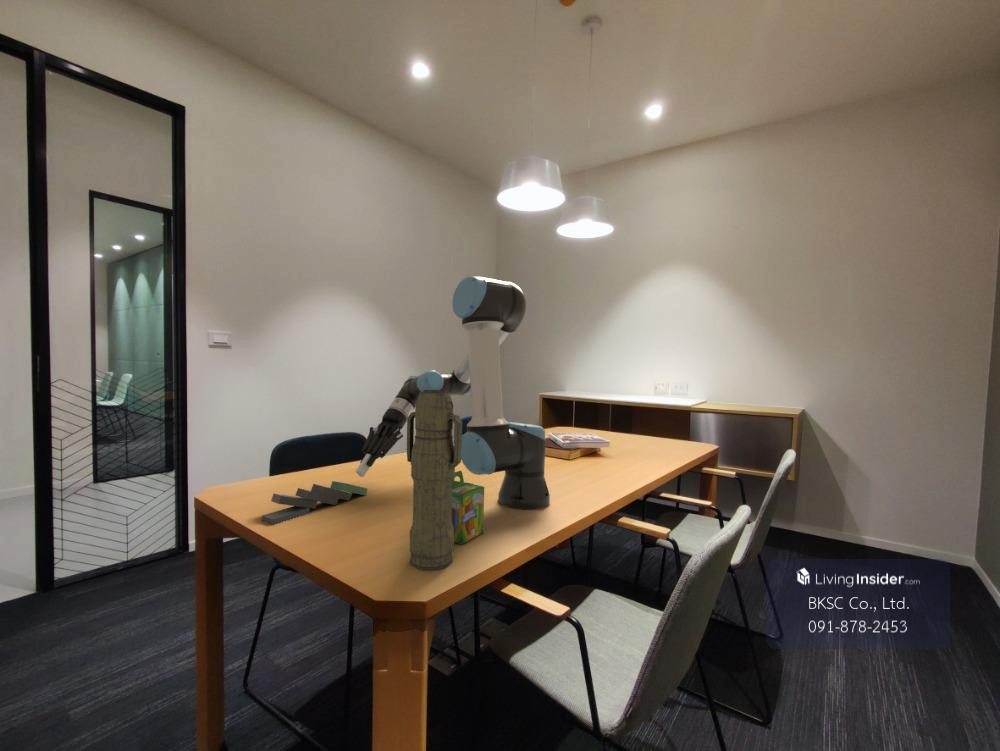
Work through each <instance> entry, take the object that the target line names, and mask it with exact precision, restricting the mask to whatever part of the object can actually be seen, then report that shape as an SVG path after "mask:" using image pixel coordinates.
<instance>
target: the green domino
mask: <svg viewBox="0 0 1000 751" xmlns="http://www.w3.org/2000/svg"><path fill="white" fill-rule="evenodd" d="M329 488H333V489H337V490H341V491H344V492H348V493H351V494H356V493H357V495H362V496H367V493H368V488H366V487H363V486H358V485H354V484H350V483H346V482H341V481H335V480H332V481H331V485H330V487H329Z"/></svg>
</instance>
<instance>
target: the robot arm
mask: <svg viewBox="0 0 1000 751" xmlns="http://www.w3.org/2000/svg"><path fill="white" fill-rule="evenodd" d="M525 296H526V295H525V294H524V292H523V291H522V289H521V288H520V287H519V286H518V285H517V284H515V283H513V282H511V281H506V280H505V281H503V280H498V279H494V278H490V277H489V278H488V277H484V276H473V275H469V276H466V277H465V278H463V279H461V281H459V283H458V284H457V287H456V288H455V289H454V293H453V296H452V302H451V304H452V311H453V313H454V315H456V317H457V318H459V319H461V328H463V329H464V330H465V331H466V332H467V338H468V349H467V351H466V353H465V354H464V355H463V357H461V359H460V360H459V362H458V363H457V365H456V367H455V368H454V369H453V370H452V372H451V373H440V372H438V371H436V370H435V369H431V370H427V371H424V372H422V373H421V374H420V375H417V374H416V375H414V374H412V375H410V376H409V377H408V378H407V379H406V380H405V381H404V383H403V385H402V387H401V388H400V390H399V391H398V392H397V394H396V396H395V398H394V399H393V401H392V402H391V403H390V404H389V406H388V409H386V410H385V412H384V413H383V415H382V419H381V422H380V423H378V425H377V426H375V427H373V426H371V427H369V433H368V435H367V438H366V440H365V442H364V445H363V447H362V449H361V451H362V453H363V454H364V456H363V457H362V458H361V460H360V463H359V465H358V466H357V468H356V469H355V472H356V474H357V475H358V476H359V477H363V478H364V477H365V476H366V474H367V472H368V471H369V470H370V468H371V467H372V466H373V465H374V463H375V462H376V460H377V459H379V458H381V459H383V458H384V457H385V456H386V455H387V454H388V452H390V450H391V449H392V448H393V447H394V446H395V444H396V443H397V442H398V441H400V439H402V438H404V434H403V433H402V432H401V430H402V429H403V428H404V426H406V425H405V424H407V418H408V417H409V415H410V414H411V413H412V412H414V410H415V407H416V402H417V399H418V396H419V393H420V392H423V390H446V392H449V393H450V396H464V395H470V402H471V403H470V404H471V405H470V406H471V408H470V409H471V419H470V420H469V422H468V423H467V424H466V432H465V433H462V442H461V463H462V464H463V466H465V469H467V470H468V471H469V472H470V473H471V474H474V475H477V476H482V475H491V474H494V473H500V472H504V476H503V479H502V482H501V485H500V488H499V491H498V496H497V497H498V499H497V500H498V503H499V504H500V505H501V506H504V507H508V508H511V509H518V510H538V509H542V508H545V507H547V506H549V504H550V503H551V502H550V499H551V497H550V496H551V494H550V491H549V488H548V485H547V481H546V478H545V465H546V464H545V462H546V461H545V460H546V441H547V439H546V430H545V428H544V427H543V426H540V425H536V424H530V423H521V422H511V421H510V422H509V421H507V419H506V418H505V417H504V413H503V412H504V410H503V408H504V407H503V395H502V394H503V391H502V389H503V388H502V373H501V352H500V346H501V345H502V343H503V342H505V340H506V338H507V337H508V336H509V334H514V333H515V332H516V331H517V329H518V328H519V327H520V325H521V324H522V322H523V320H524V318H525V315H526V311H527V300H526V297H525Z"/></svg>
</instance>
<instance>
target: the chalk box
mask: <svg viewBox="0 0 1000 751" xmlns="http://www.w3.org/2000/svg"><path fill="white" fill-rule="evenodd" d="M456 477H457V478H459V481H458V480H455V479H456ZM484 510H485V487H484V486H483V485H478V484H474V483H471V482H466V481H465V480H464V475H463V472H462V470H458V471H455V476H454V478H453V481H452V524H453V527H454V543H455V544H460V545H464V544H465V543H468V542H469V541H471V540H473V539H475V538H476V537H478V536H480V535H482V534H483V533H484V518H485V517H484V516H485V515H484V512H485V511H484Z"/></svg>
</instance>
